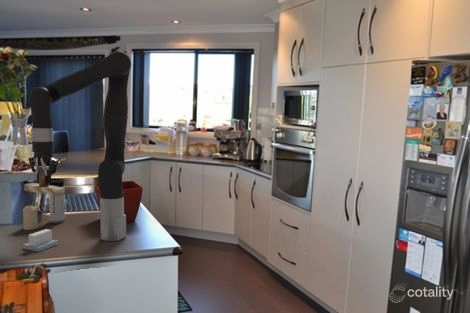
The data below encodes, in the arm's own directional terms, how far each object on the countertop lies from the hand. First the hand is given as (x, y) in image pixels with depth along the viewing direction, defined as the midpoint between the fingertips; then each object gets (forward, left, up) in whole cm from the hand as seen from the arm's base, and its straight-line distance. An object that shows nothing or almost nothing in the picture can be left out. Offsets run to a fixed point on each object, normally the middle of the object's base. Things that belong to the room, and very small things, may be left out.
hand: (44, 183), depth 154 cm
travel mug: (+18, -23, -23) cm, 38 cm away
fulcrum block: (-2, +5, -23) cm, 24 cm away
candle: (+20, -10, -23) cm, 33 cm away
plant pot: (-5, -38, -24) cm, 45 cm away
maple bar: (0, 0, -3) cm, 3 cm away
